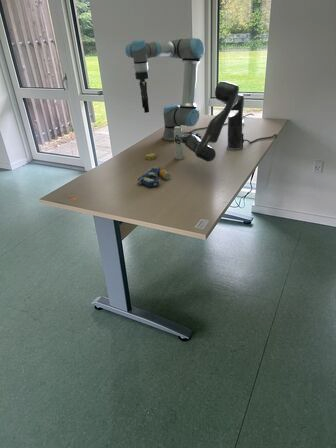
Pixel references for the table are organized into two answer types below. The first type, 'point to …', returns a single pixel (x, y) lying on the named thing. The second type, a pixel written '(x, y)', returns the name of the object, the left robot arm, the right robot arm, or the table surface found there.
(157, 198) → the table surface
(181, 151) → the white cylinder
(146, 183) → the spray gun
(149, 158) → the lid
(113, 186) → the table surface
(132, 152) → the table surface
